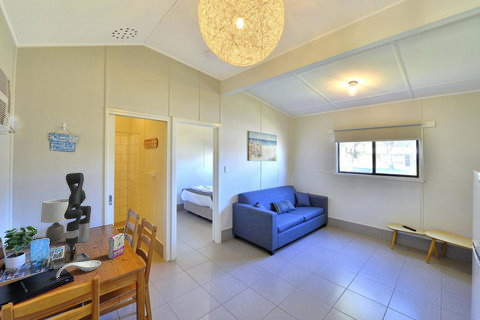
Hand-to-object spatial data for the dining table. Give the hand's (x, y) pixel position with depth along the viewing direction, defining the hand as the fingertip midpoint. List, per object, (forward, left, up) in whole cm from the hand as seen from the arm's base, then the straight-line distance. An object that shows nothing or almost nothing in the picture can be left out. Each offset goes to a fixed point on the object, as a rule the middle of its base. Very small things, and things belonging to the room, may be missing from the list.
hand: (70, 258), depth 144 cm
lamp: (-64, 0, -3) cm, 64 cm away
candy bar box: (+13, +26, -3) cm, 29 cm away
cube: (0, 0, -1) cm, 1 cm away
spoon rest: (+21, +1, -3) cm, 21 cm away
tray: (0, 0, -3) cm, 3 cm away
